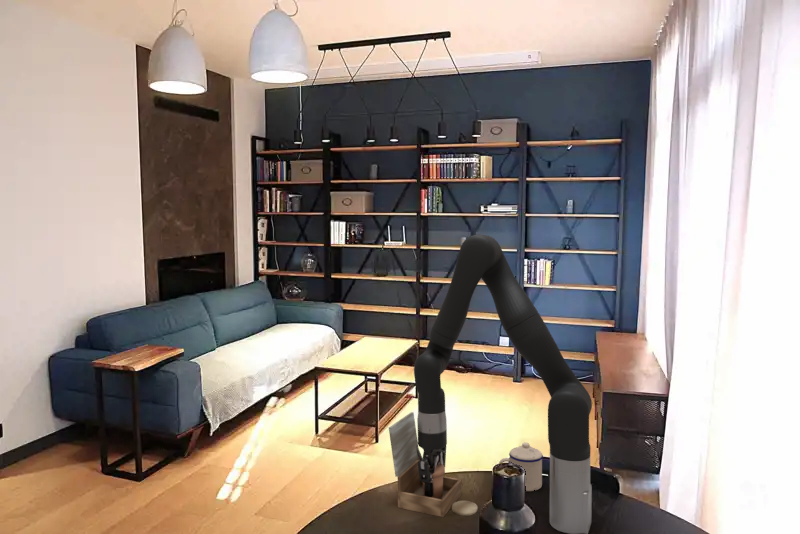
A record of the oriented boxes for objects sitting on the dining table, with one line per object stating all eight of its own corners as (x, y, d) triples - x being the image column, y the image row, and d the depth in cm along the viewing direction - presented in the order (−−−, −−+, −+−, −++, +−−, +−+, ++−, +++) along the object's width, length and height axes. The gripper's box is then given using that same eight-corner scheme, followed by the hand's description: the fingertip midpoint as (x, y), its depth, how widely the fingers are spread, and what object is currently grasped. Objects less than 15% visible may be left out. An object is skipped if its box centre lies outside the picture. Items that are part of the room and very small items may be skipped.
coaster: (480, 506, 148) (480, 503, 148) (472, 517, 143) (472, 514, 143) (457, 501, 151) (457, 498, 151) (448, 512, 145) (448, 509, 145)
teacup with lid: (540, 478, 165) (540, 438, 164) (545, 492, 156) (545, 450, 155) (497, 477, 166) (497, 437, 165) (499, 491, 157) (499, 449, 156)
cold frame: (461, 494, 156) (461, 418, 154) (443, 517, 143) (442, 435, 142) (411, 484, 162) (410, 411, 161) (389, 505, 150) (388, 427, 148)
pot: (448, 491, 153) (448, 464, 153) (440, 501, 147) (439, 473, 147) (427, 487, 156) (426, 460, 155) (417, 497, 150) (417, 469, 150)
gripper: (435, 438, 143) (436, 505, 143) (455, 420, 155) (456, 482, 156) (407, 434, 146) (408, 500, 147) (429, 417, 159) (430, 478, 160)
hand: (433, 491), depth 152 cm, fingers closed on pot, 5 cm apart
